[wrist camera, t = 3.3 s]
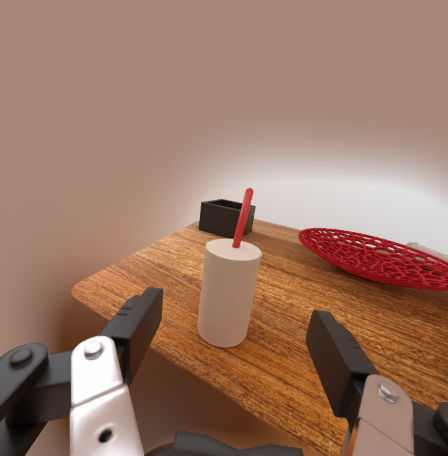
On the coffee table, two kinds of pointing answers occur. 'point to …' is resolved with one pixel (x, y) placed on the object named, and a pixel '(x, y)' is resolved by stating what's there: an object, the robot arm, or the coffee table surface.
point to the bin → (223, 217)
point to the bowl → (377, 259)
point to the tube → (427, 250)
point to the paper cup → (228, 286)
